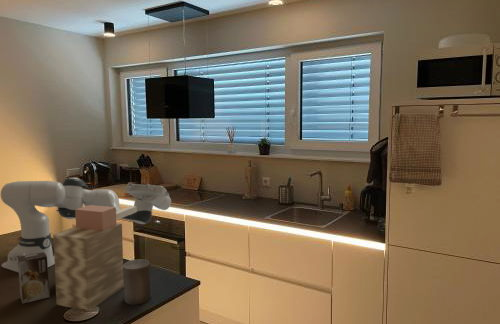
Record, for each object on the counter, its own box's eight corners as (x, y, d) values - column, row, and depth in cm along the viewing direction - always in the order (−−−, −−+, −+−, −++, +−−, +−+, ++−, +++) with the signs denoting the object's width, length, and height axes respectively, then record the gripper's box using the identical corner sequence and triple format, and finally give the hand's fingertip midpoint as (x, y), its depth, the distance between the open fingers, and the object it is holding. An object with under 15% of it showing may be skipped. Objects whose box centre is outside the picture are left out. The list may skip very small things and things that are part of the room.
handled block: (76, 227, 142) (75, 209, 141) (122, 210, 169) (121, 195, 168) (102, 230, 138) (102, 212, 137) (145, 212, 165) (145, 197, 165)
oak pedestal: (56, 304, 135) (53, 234, 133) (94, 282, 154) (92, 220, 152) (88, 310, 131) (86, 238, 129) (123, 286, 150) (121, 223, 148)
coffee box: (47, 291, 146) (45, 251, 144) (50, 297, 141) (48, 256, 139) (19, 297, 141) (17, 256, 139) (21, 304, 136) (19, 261, 134)
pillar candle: (156, 296, 143) (155, 258, 141) (138, 307, 134) (137, 266, 133) (136, 291, 147) (135, 254, 146) (118, 301, 138) (116, 262, 137)
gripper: (169, 201, 184) (156, 192, 172) (133, 198, 190) (118, 189, 178) (172, 189, 187) (159, 179, 175) (136, 187, 193) (121, 177, 181)
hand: (138, 184), depth 176 cm, fingers open, 8 cm apart
